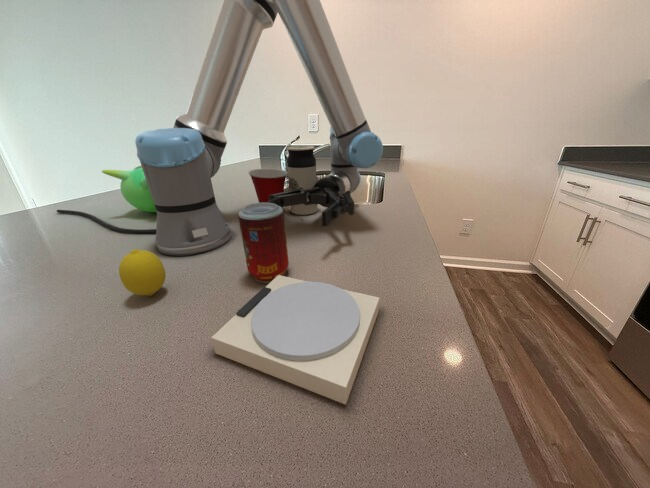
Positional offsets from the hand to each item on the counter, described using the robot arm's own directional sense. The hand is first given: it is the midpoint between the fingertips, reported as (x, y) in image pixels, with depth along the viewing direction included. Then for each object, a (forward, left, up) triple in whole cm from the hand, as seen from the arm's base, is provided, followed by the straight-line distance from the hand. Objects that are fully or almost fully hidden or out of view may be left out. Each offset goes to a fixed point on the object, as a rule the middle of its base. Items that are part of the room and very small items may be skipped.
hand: (291, 215), depth 49 cm
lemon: (-14, -21, -8) cm, 26 cm away
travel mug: (-10, +25, -8) cm, 28 cm away
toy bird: (-53, +10, -8) cm, 55 cm away
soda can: (0, -9, -8) cm, 12 cm away
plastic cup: (-19, +21, -8) cm, 30 cm away
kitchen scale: (+12, -19, -8) cm, 24 cm away
